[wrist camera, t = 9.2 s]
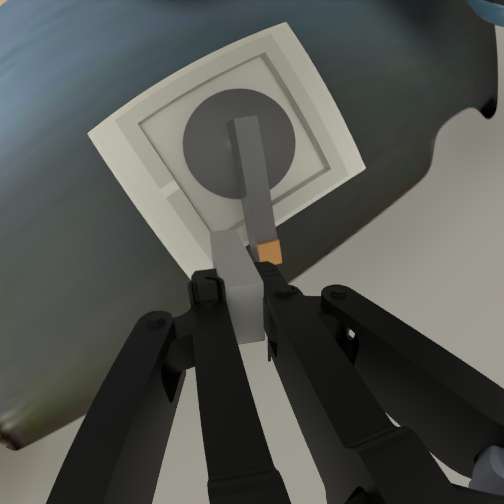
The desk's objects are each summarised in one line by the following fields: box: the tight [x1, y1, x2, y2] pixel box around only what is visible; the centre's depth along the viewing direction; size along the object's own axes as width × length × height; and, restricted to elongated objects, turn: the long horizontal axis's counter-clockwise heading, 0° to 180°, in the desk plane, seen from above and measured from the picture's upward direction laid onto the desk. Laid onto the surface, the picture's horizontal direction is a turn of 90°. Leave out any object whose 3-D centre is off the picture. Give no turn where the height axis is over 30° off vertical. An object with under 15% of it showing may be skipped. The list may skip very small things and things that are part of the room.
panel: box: [88, 22, 366, 279], centre depth 25 cm, size 22×18×3 cm
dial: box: [183, 88, 296, 265], centre depth 24 cm, size 15×10×6 cm, turn 10°
